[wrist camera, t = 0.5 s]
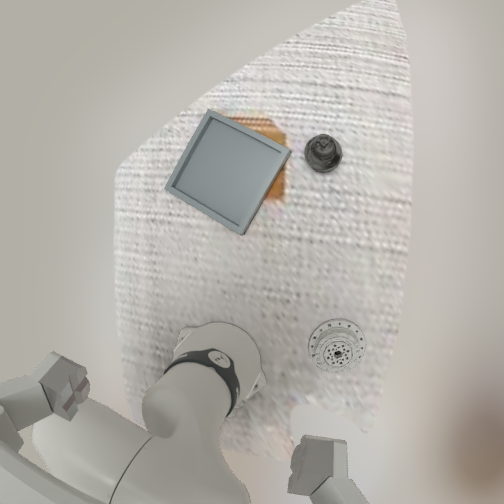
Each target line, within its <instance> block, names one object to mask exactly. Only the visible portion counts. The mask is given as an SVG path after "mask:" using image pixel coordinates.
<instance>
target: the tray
mask: <svg viewBox="0 0 504 504" xmlns="http://www.w3.org/2000/svg"><path fill="white" fill-rule="evenodd" d="M290 154H291V151H290V149H288V148H286V147H284V146H282V145H280V144H279V143H277V142H275V141H273V140H271V139H269V138H267V137H265V136H263V135H261V134H259V133H257V132H255V131H253V130H251V129H249V128H247V127H245V126H243V125H241V124H239V123H237V122H235V121H233V120H231V119H229V118H227V117H225V116H223V115H220V114H218V113H216V112H214V111H212V110H210V109H208V110H207V112H206V114H205V115H204V117H203V119H202V121H201V122H200V124H199V126H198V127H197V129H196V131H195V133H194V134H193V136H192V138H191V140H190V142H189V143H188V145H187V147H186V149H185V151H184V152H183V154H182V156H181V158H180V160H179V162H178V163H177V165H176V167H175V169H174V171H173V173H172V175H171V177H170V179H169V181H168V182H167V184H166V186H165V188H164V189H165V190H167V191H169V192H170V193H172V194H173V195H175V196H177V197H178V198H180V199H182V200H183V201H185V202H187V203H188V204H190V205H192V206H193V207H195V208H197V209H198V210H200V211H202V212H203V213H205V214H207V215H208V216H210V217H211V218H213V219H215V220H216V221H218V222H220V223H221V224H223V225H225V226H226V227H228V228H230V229H231V230H233V231H235V232H236V233H238V234H239V235H243V234H245V232H246V230H247V228H248V227H249V225H250V223H251V221H252V220H253V218H254V216H255V214H256V213H257V211H258V209H259V207H260V206H261V204H262V202H263V200H264V199H265V197H266V195H267V193H268V192H269V190H270V188H271V187H272V185H273V183H274V181H275V180H276V178H277V176H278V174H279V173H280V171H281V169H282V168H283V166H284V164H285V162H286V161H287V159H288V157H289V156H290Z"/></svg>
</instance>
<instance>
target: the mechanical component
mask: <svg viewBox="0 0 504 504" xmlns="http://www.w3.org/2000/svg"><path fill="white" fill-rule="evenodd" d="M339 322H340V323H339ZM329 324H331V325H329ZM349 324H350V325H349ZM314 336H316V337H314ZM335 351H336V352H337V353H339V355H335ZM340 351H341V353H340ZM364 352H365V338H364V335H363V333H362V331H361V330H360V328H359V327H358V326H357V325H356V324H354V323H353V322H351V321H348V320H345V319H332V320H329V321H326V322H324V323H322V324H321V325H319V326H318V327H317V328H316V329H315V330H314V332H313V334H312V336H311V338H310V343H309V353H310V356H311V359H312V360H313V362H314V363H315V364H316V365H317V366H318V367H319V368H321V369H323V370H325V371H327V372H332V373H338V374H339V373H341V372H343V373H344V372H345V371H347V370H350V369H351V368H353V367H354V366H355V365H356V364H357V363H359V362H360V360H361V359H362V357H363V355H364Z"/></svg>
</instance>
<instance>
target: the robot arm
mask: <svg viewBox="0 0 504 504" xmlns="http://www.w3.org/2000/svg"><path fill="white" fill-rule="evenodd" d="M183 338H184V339H183ZM86 375H87V370H86V368H85V367H84V366H82V365H80V364H77V363H75V362H73V361H71V360H69V359H67V358H65V357H64V356H62V355H60V354H58V353H56V352H54V351H53V352H51V353H49V354H48V355H47V357H46V358H45V359H44V360H43V361H42V362H41V363H40V364H39V365H38V366H37V367H36V369H35V370H34V371H33V372H32V373H31V374H30V375H29V376H27V375H24V376H21V377H18V378H15V379H11V380H8V381H5V382H2V383H0V504H251V500H250V496H249V493H248V490H247V488H246V486H245V485H244V484H243V483H242V482H241V481H240V480H239V479H238V478H237V477H236V476H235V474H234V473H233V472H232V470H231V469H230V468H229V466H228V465H227V463H226V461H225V459H224V457H223V455H222V452H221V449H220V445H219V433H220V430H221V427H222V424H223V422H224V420H225V418H226V417H228V418H230V419H231V418H232V417H233V416H234V415H235V414H236V413H237V411H238V410H237V408H238V407H242V406H243V405H244V403H245V402H246V401H247V400H248V399H249V398H250V397H252V396H253V395H254V394H255V393H257V392H258V391H259V390H260V389H261V388H262V387H264V385H265V384H266V377H265V375H264V373H263V371H262V369H261V361H260V354H259V350H258V348H257V346H256V344H255V342H254V341H253V340H252V338H251V337H250V336H249V335H248V334H247V333H246V332H244V331H243V330H241V329H240V328H238V327H236V326H234V325H231V324H228V323H222V322H214V323H209V324H206V325H203V326H201V327H197V328H193V327H186V328H183V329H182V330H181V331H180V333H179V336H178V340H177V344H176V347H175V349H174V355H173V358H172V362H171V363H170V364H169V366H168V368H167V369H166V370H165V372H164V375H163V376H162V377H161V378H160V379H159V380H158V381H157V382H156V383H155V384H154V385H153V386H152V387H151V388H150V389H149V390H148V391H147V393H146V394H145V396H144V399H143V403H142V414H143V419H144V422H145V426H146V428H147V430H148V431H146V430H145V429H143V428H141V427H140V426H138V425H136V424H135V423H133V422H131V421H129V420H128V419H126V418H125V417H123V416H122V415H120V414H118V413H117V412H115V411H114V410H112V409H111V408H109V407H108V406H106V405H104V404H101V403H99V402H97V401H95V400H93V399H90V398H88V397H87V396H88V394H89V391H90V383H89V381H88V379H87V378H86ZM256 384H257V386H255V385H256ZM30 425H32V442H33V445H34V447H35V449H36V450H37V452H38V454H39V455H40V457H41V459H42V460H43V462H44V463H45V465H46V467H47V469H48V471H49V473H48V472H46V471H45V470H43V469H41V468H40V467H38V466H37V465H35V464H34V463H32V462H31V461H29V460H28V459H26V458H25V457H23V456H22V455H20V454H19V453H18V451H19V450H20V448H21V447H22V445H23V443H24V442H23V439H22V438H21V436H20V435H19V433H18V431H19V430H21V429H23V428H26V427H27V426H30ZM347 462H348V461H347V442H346V441H345V440H339V439H331V438H326V437H318V436H311V435H304V436H303V437H302V438H301V444H300V445H297V446H296V448H295V450H294V453H293V455H292V459H291V466H290V468H291V470H292V471H293V473H292V475H291V476H290V477H289V483H288V493H291V494H292V493H293V494H298V495H305V496H310V499H311V501H312V503H313V504H369V502H368V501H367V500H366V498H365V497H364V495H363V494H362V493H361V491H360V490H359V489H358V487H357V486H356V484H355V483H354V482H353V480H352V479H348V463H347Z"/></svg>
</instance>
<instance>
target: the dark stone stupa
mask: <svg viewBox="0 0 504 504" xmlns="http://www.w3.org/2000/svg"><path fill="white" fill-rule="evenodd" d="M305 158H306V160H307V163H308V164H309V165H310V166H311V167H312V168H313V169H314V170H316V171H318V172H322V173H325V172H329V171H332V170H333V169H334V168H336V167H337V166H338V164H339V163H340V161H341V158H342V149H341V147H340V145H339V143H338V142H337V141H336V140H335V139H334V138H332V137H330V136H329V135H326V134H320V135H318V136H316V137H313V138H312V139H311V140H309V142H308V143H307V145H306V147H305Z"/></svg>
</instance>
